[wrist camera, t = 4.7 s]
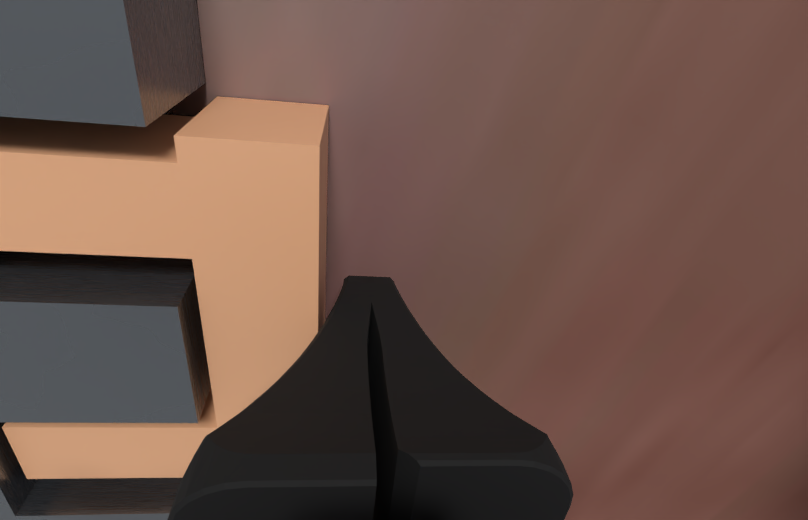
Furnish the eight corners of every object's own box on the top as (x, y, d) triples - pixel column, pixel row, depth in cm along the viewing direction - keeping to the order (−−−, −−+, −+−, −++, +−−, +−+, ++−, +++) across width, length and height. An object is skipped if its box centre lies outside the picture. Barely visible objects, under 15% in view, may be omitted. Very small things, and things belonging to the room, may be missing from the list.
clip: (328, 105, 11) (319, 145, 9) (323, 405, 16) (316, 487, 14) (-25, 76, 10) (-153, 112, 8) (87, 403, 15) (32, 490, 13)
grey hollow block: (174, -201, 8) (70, -295, 5) (249, 496, 18) (228, 597, 16) (-259, -266, 8) (-665, -419, 5) (69, 498, 18) (10, 606, 15)
